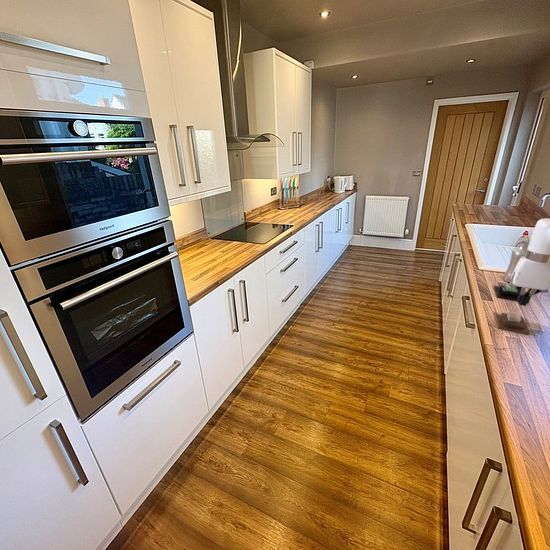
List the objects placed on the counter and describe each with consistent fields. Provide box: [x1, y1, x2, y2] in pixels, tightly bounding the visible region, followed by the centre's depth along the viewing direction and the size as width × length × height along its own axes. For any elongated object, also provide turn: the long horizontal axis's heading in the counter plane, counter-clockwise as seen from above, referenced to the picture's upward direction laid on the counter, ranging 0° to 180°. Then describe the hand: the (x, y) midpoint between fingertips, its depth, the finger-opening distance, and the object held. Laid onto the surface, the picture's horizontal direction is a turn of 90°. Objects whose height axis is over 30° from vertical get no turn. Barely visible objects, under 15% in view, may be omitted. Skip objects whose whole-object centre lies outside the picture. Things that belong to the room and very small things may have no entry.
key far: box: [505, 283, 518, 292], centre depth 127 cm, size 4×4×2 cm
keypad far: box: [493, 284, 519, 302], centre depth 128 cm, size 10×10×3 cm
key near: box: [506, 312, 521, 323], centre depth 107 cm, size 3×3×2 cm
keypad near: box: [494, 312, 531, 336], centre depth 108 cm, size 9×9×3 cm
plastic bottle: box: [502, 241, 530, 283], centre depth 136 cm, size 6×7×20 cm
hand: (521, 303), depth 104 cm, fingers closed
